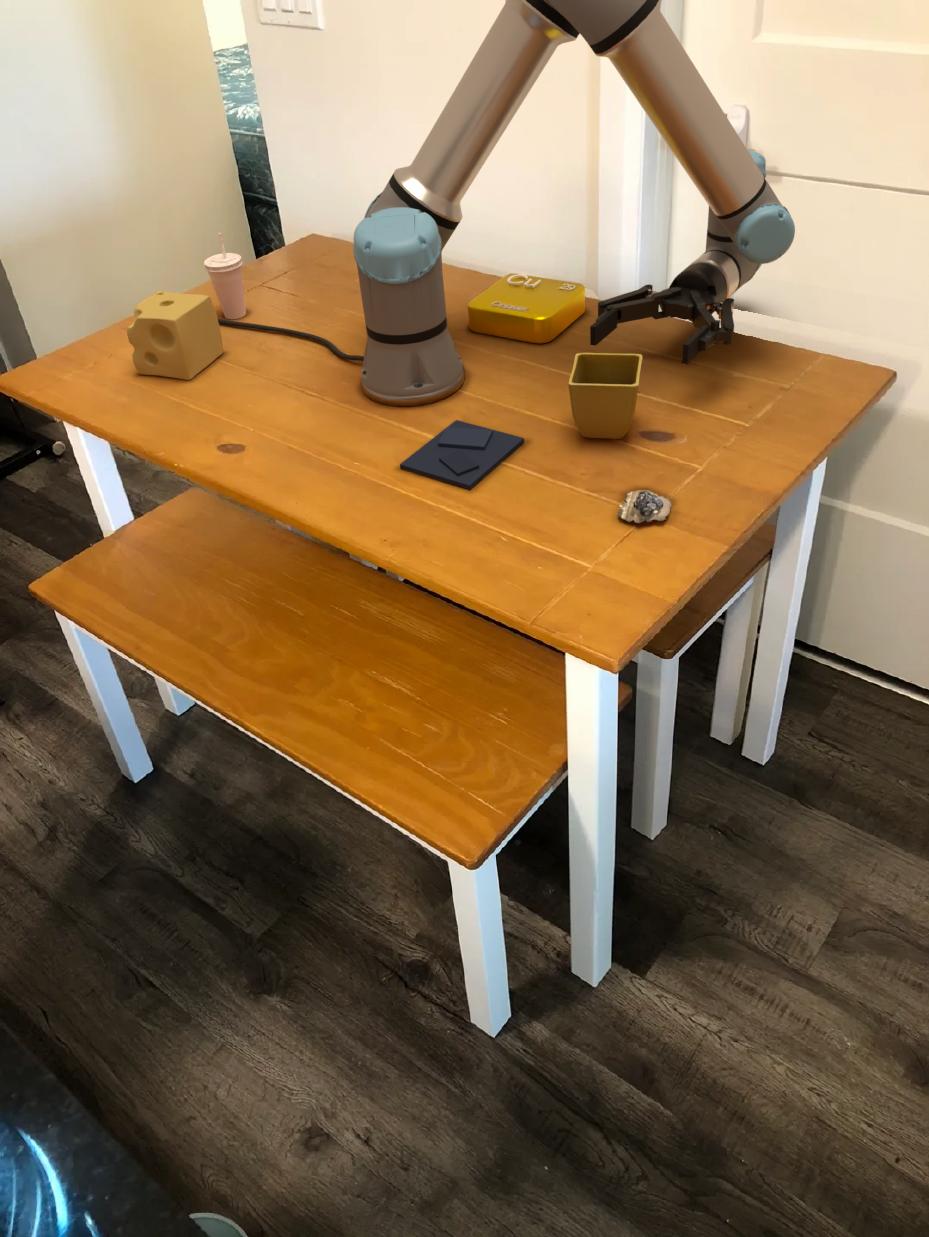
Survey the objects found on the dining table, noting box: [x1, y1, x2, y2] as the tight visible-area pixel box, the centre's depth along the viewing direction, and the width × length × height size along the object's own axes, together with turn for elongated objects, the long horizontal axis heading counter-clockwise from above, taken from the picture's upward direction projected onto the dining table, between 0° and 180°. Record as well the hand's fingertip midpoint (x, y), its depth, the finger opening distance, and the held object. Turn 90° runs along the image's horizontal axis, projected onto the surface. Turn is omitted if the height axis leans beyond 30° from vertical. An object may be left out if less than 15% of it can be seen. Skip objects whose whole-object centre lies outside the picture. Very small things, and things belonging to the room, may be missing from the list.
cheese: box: [126, 290, 224, 381], centre depth 155 cm, size 10×11×10 cm
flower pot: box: [568, 352, 643, 440], centre depth 129 cm, size 9×9×9 cm
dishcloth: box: [399, 419, 525, 490], centre depth 129 cm, size 11×13×1 cm
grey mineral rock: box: [616, 489, 672, 524], centre depth 116 cm, size 7×8×2 cm
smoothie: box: [203, 232, 247, 320], centre depth 167 cm, size 6×6×14 cm
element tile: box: [467, 273, 586, 345], centre depth 159 cm, size 15×15×5 cm
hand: (637, 345), depth 132 cm, fingers open, 13 cm apart
